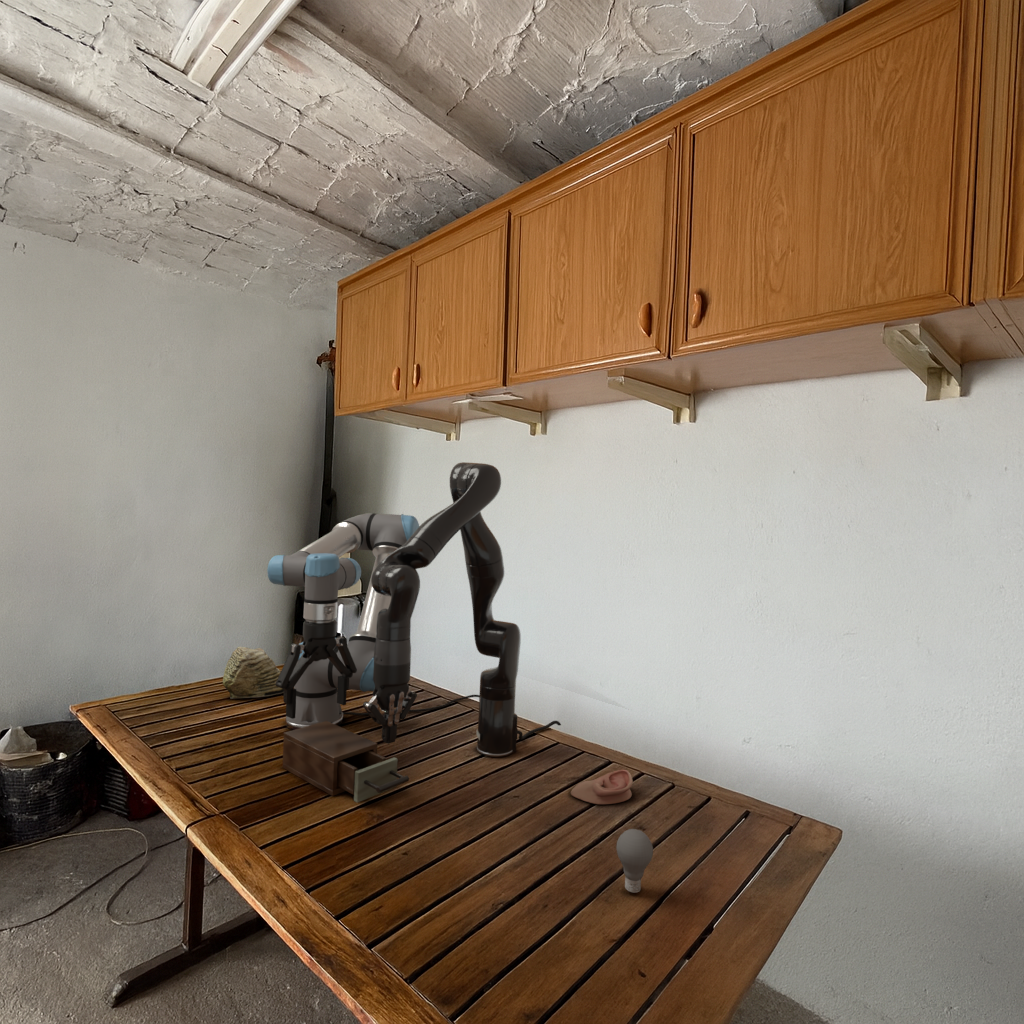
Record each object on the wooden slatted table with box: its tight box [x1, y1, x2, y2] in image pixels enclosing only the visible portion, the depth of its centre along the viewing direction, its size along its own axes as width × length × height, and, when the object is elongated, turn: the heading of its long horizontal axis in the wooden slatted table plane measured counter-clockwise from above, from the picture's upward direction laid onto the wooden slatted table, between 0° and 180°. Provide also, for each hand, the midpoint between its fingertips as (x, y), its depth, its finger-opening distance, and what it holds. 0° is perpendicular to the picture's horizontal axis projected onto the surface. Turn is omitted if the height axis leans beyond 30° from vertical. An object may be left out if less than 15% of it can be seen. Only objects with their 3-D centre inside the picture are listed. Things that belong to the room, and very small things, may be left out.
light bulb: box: [615, 828, 654, 894], centre depth 106 cm, size 6×6×10 cm
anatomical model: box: [570, 769, 634, 805], centre depth 141 cm, size 13×4×12 cm
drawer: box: [337, 750, 410, 803], centre depth 138 cm, size 24×10×6 cm, turn 50°
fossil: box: [222, 646, 284, 699], centre depth 198 cm, size 9×18×15 cm, turn 132°
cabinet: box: [282, 721, 378, 797], centre depth 145 cm, size 20×12×8 cm, turn 50°
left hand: (316, 710), depth 148 cm, fingers open, 13 cm apart
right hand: (389, 741), depth 132 cm, fingers closed
